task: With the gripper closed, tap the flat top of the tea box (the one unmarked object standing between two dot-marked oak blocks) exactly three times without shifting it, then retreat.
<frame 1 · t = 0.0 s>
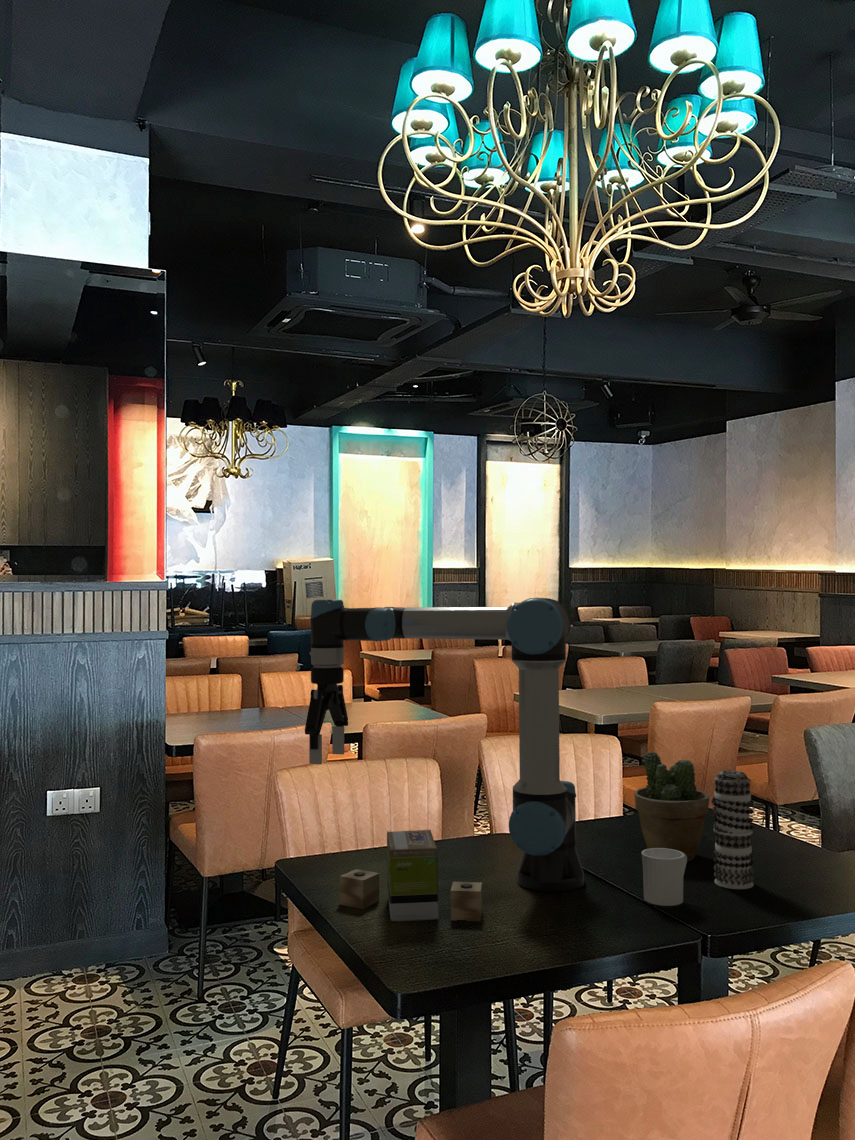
hand: (327, 759, 216), 28 cm above the table, fingers open, 13 cm apart
mug: (667, 902, 200), on the table
decorative candle: (733, 884, 212), on the table
tea box: (412, 910, 196), on the table
oak block 1: (359, 903, 200), on the table
potted plant: (672, 856, 235), on the table
oak block 2: (466, 916, 191), on the table
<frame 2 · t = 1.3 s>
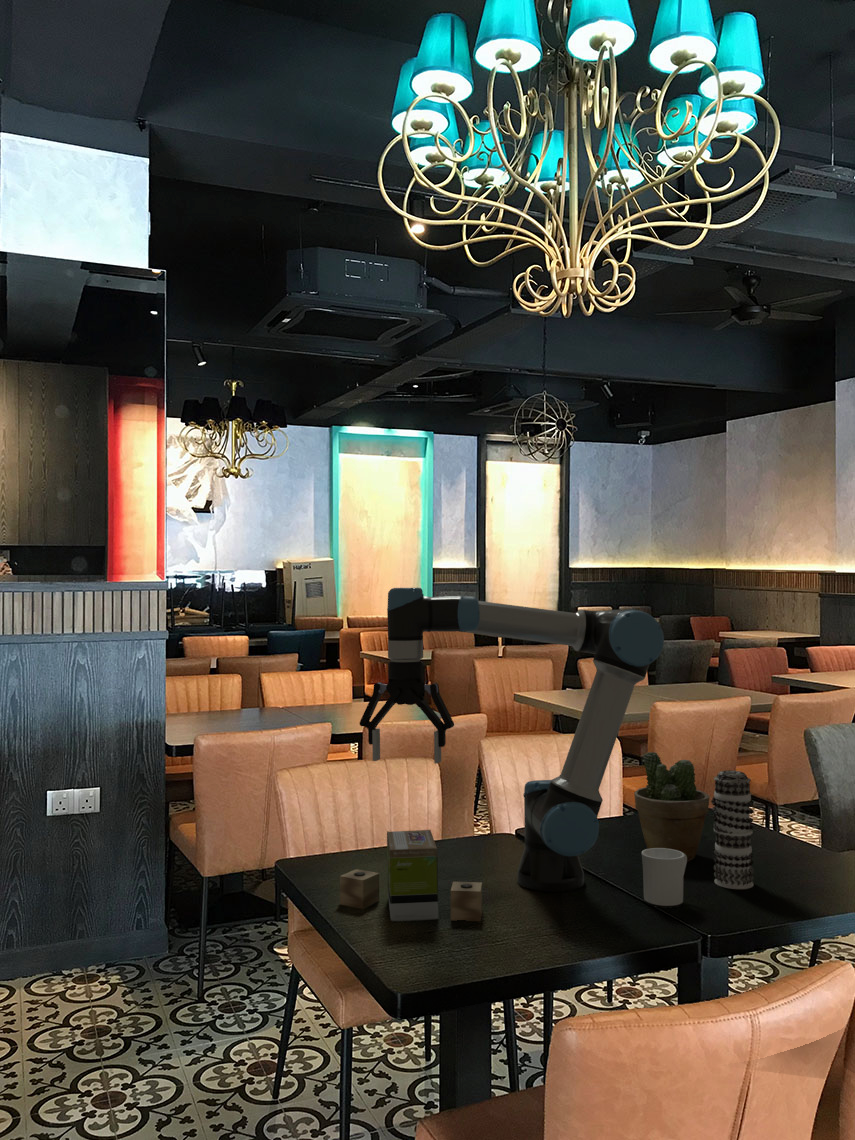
hand: (406, 761, 198), 30 cm above the table, fingers open, 13 cm apart
nothing on the table moved.
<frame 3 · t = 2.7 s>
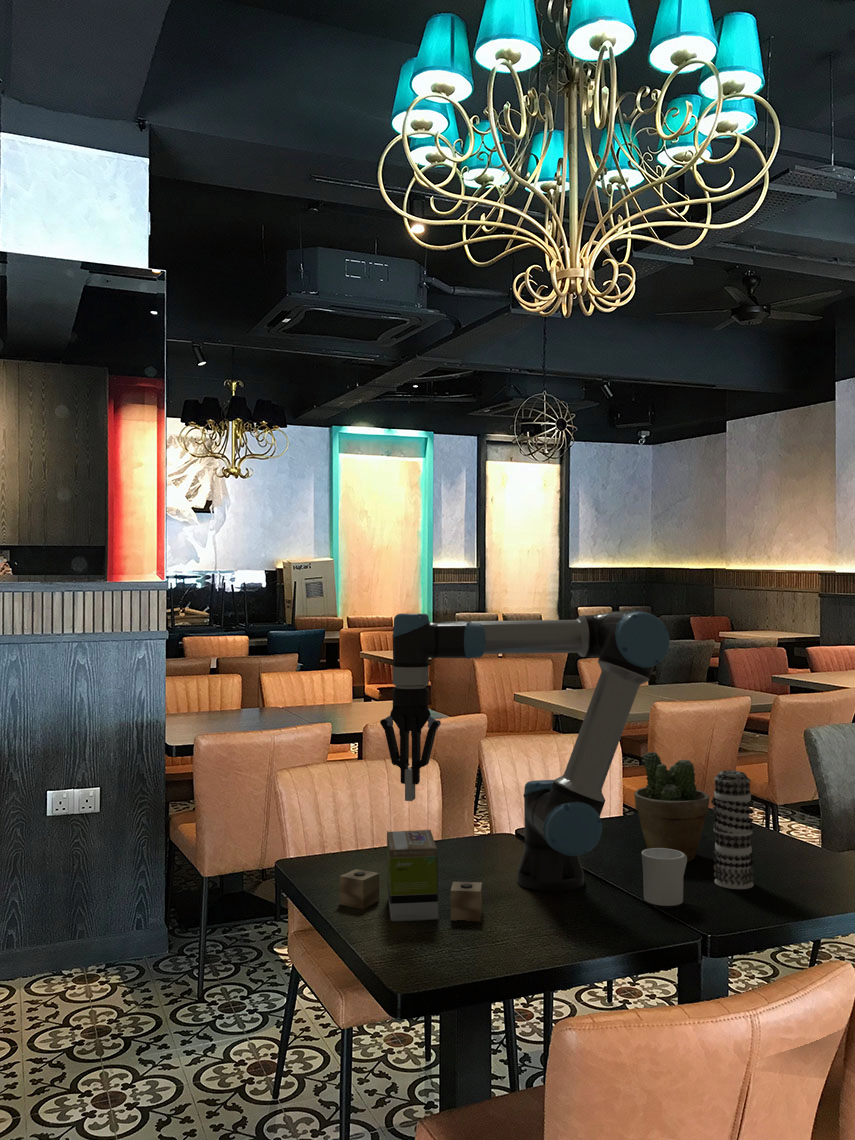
hand: (410, 799, 197), 23 cm above the table, fingers closed
nothing on the table moved.
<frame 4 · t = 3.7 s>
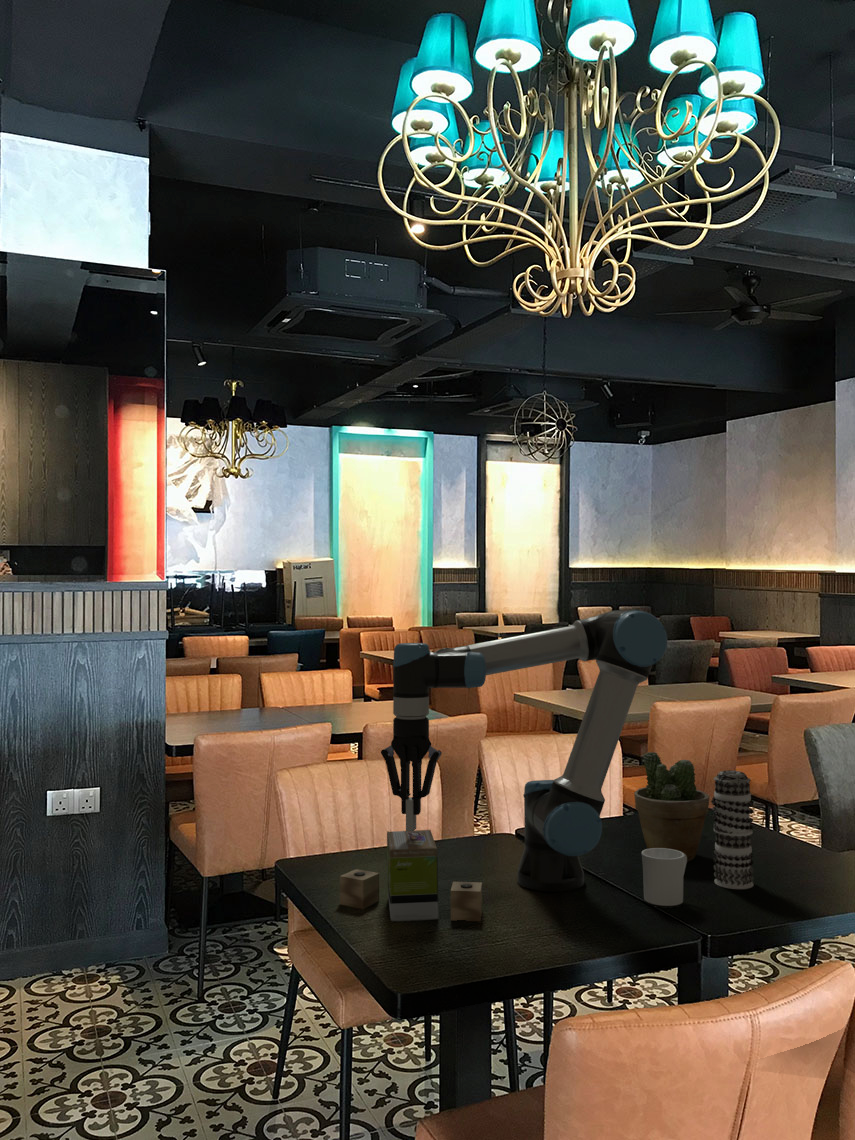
hand: (411, 829, 196), 16 cm above the table, fingers closed
nothing on the table moved.
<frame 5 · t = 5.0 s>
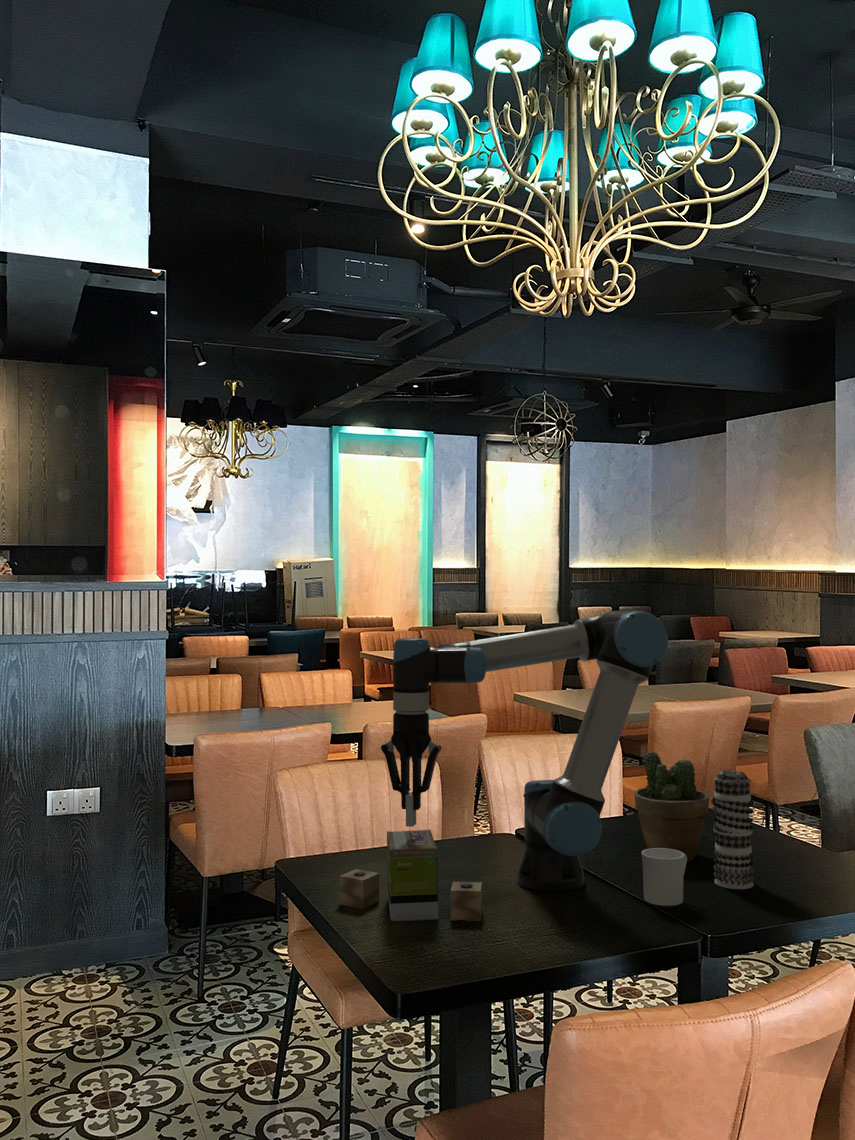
hand: (411, 825, 196), 17 cm above the table, fingers closed
nothing on the table moved.
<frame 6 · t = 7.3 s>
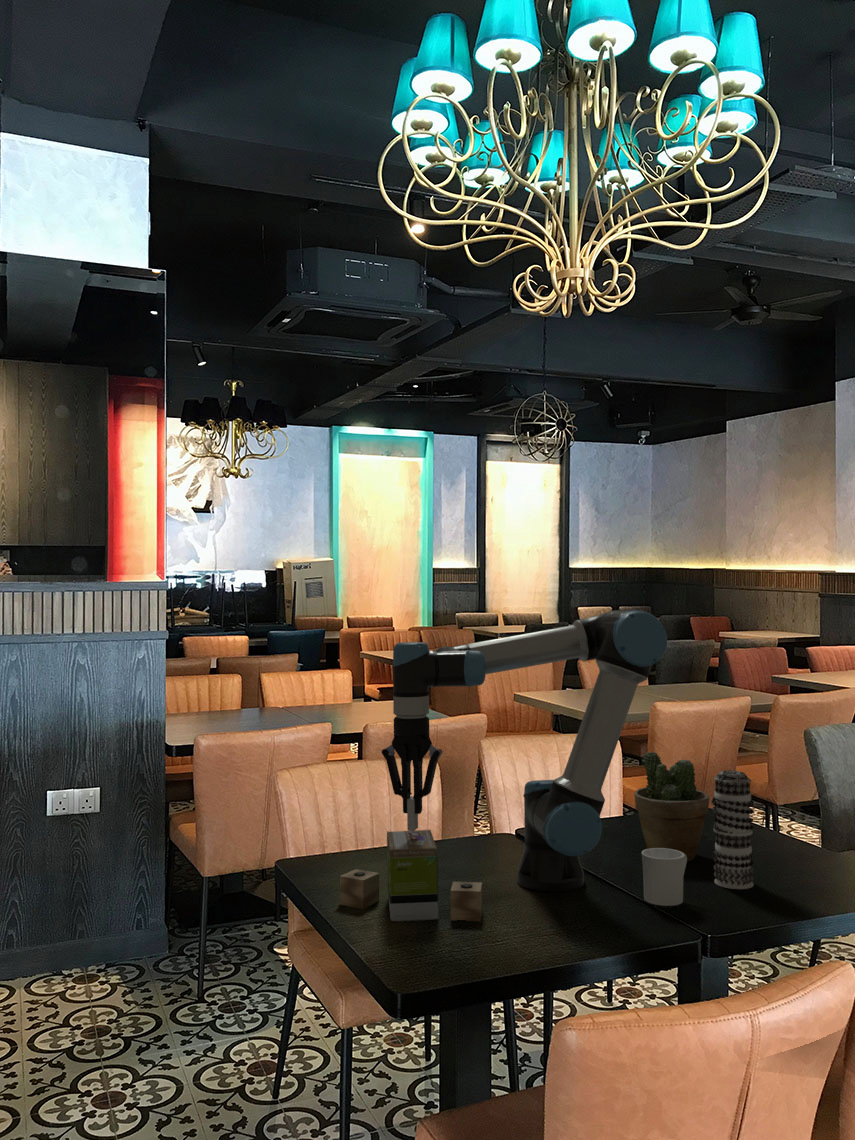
hand: (412, 829, 196), 17 cm above the table, fingers closed
nothing on the table moved.
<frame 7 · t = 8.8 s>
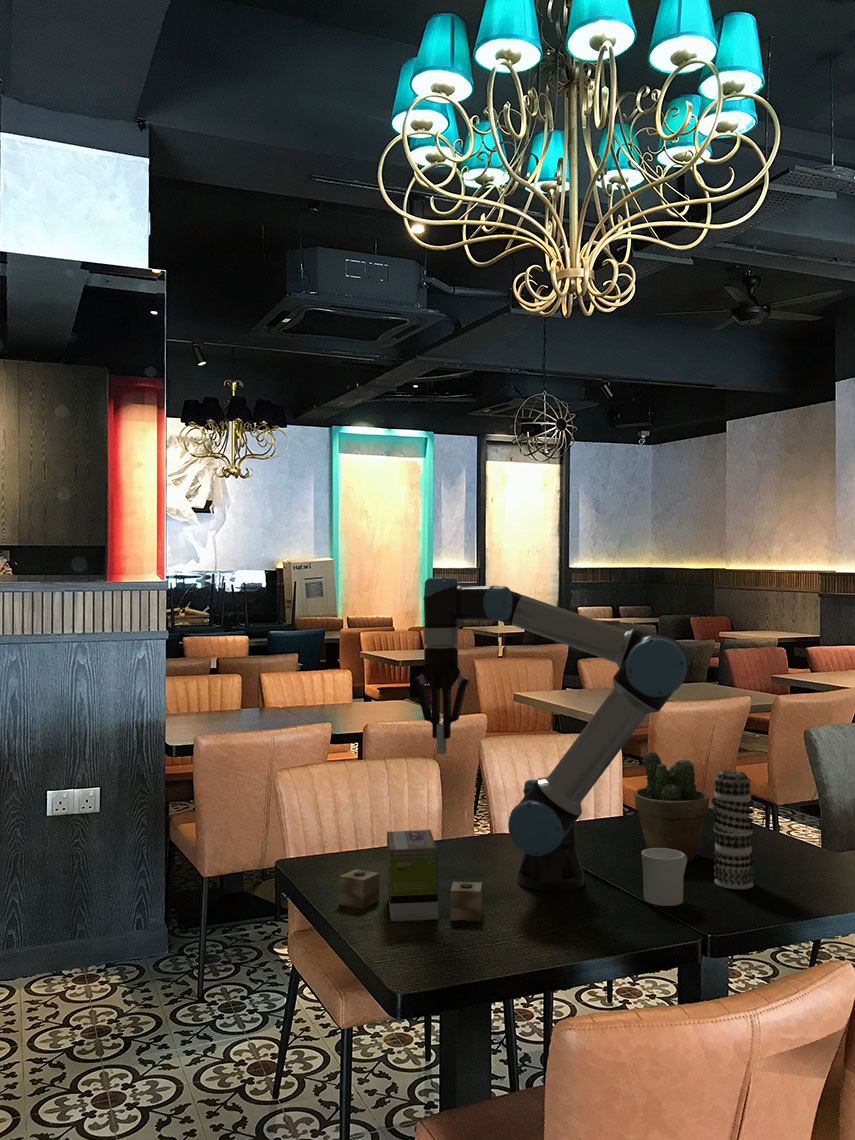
hand: (441, 753, 208), 30 cm above the table, fingers closed
nothing on the table moved.
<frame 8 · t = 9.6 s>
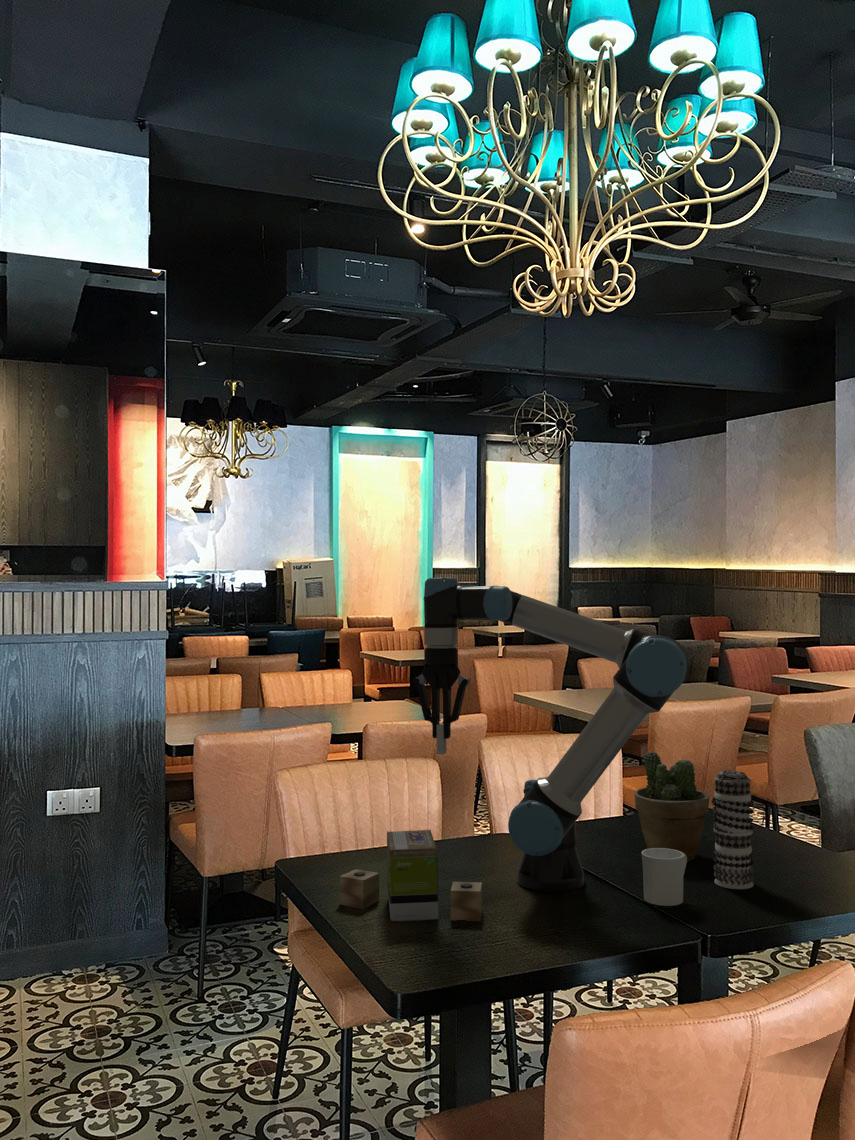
hand: (441, 753, 208), 30 cm above the table, fingers closed
nothing on the table moved.
at the end: tea box moved 0.3 cm from its start; tea box inside the target area (0.0 cm from its centre), on the table; oak block 1 moved 0.1 cm from its start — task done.
